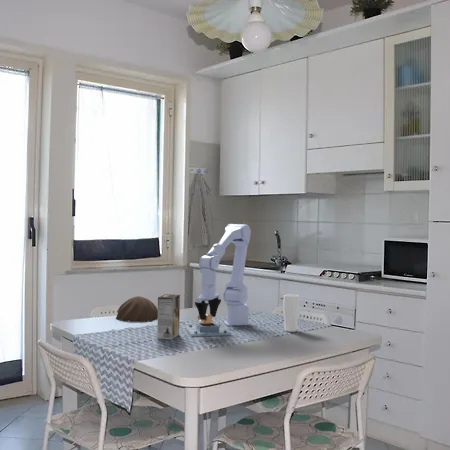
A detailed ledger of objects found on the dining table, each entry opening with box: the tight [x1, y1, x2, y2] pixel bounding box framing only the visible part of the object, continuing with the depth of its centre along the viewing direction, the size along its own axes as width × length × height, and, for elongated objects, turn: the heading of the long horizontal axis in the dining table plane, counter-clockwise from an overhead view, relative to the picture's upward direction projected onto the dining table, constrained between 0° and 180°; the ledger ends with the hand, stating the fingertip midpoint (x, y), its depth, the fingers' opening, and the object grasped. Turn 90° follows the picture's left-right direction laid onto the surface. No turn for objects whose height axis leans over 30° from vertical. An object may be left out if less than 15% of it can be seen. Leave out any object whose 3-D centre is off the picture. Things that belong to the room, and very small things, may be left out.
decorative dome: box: [115, 295, 158, 323], centre depth 254 cm, size 19×20×10 cm
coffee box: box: [156, 293, 181, 341], centre depth 216 cm, size 9×6×16 cm
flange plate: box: [184, 321, 232, 337], centre depth 227 cm, size 16×16×3 cm
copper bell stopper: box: [197, 313, 213, 326], centre depth 228 cm, size 6×4×6 cm, turn 51°
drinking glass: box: [282, 293, 301, 333], centre depth 232 cm, size 7×7×15 cm
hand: (207, 318), depth 227 cm, fingers open, 7 cm apart
